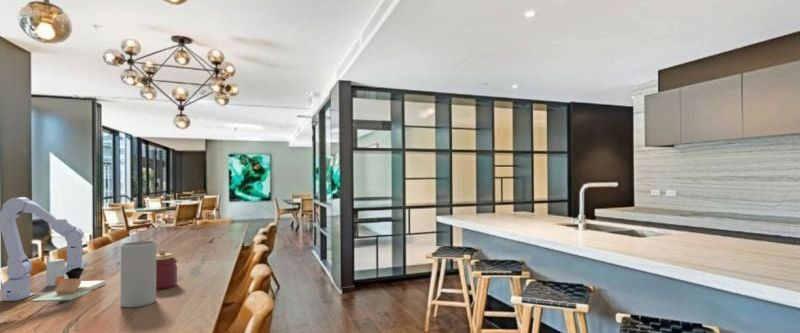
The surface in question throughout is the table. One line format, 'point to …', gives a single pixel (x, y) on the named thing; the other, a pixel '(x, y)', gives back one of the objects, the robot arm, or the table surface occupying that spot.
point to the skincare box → (54, 272)
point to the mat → (60, 296)
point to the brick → (67, 286)
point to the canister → (165, 270)
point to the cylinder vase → (138, 273)
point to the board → (90, 285)
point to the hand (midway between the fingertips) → (74, 285)
